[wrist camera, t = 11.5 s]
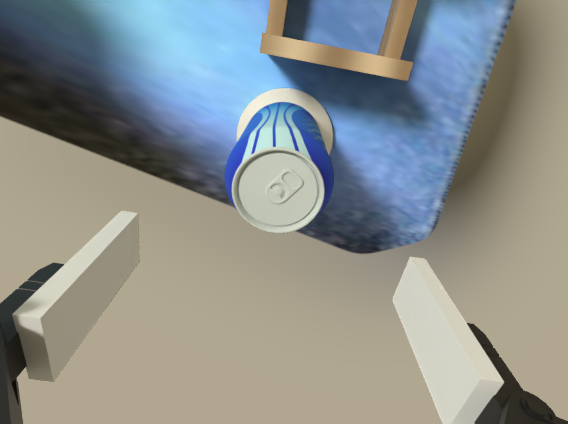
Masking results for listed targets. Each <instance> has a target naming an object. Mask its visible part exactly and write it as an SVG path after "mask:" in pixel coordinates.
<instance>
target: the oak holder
mask: <svg viewBox="0 0 568 424" xmlns="http://www.w3.org/2000/svg"><path fill="white" fill-rule="evenodd" d="M417 1H418V0H392V4H391V8H390V12H389V15H388V19H387V23H386V26H385V30H384V34H383V37H382V41H381V45H380V48H379V52H378V55H373V54H368V53H363V52H358V51H353V50H348V49H342V48H337V47H332V46H327V45H322V44H317V43H312V42H307V41H301V40H296V39H291V38H286V37H283V31H284V25H285V18H286V12H287V5H288V0H270V7H269V14H268V22H267V30H266V33H262V40H261V48H260V53H264V54H269V55H275V56H280V57H285V58H290V59H295V60H301V61H306V62H311V63H316V64H321V65H327V66H332V67H337V68H342V69H347V70H353V71H358V72H363V73H368V74H374V75H379V76H384V77H389V78H394V79H400V80H405V81H408V78H409V74H410V71H411V68H412V65H413V62H409V61H404V60H400V58H401V54H402V51H403V48H404V44H405V41H406V38H407V34H408V31H409V28H410V24H411V21H412V18H413V14H414V11H415V8H416V4H417Z"/></svg>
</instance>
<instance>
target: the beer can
mask: <svg viewBox="0 0 568 424" xmlns="http://www.w3.org/2000/svg"><path fill="white" fill-rule="evenodd" d="M333 183H334V173H333V167H332V163H331V160H330V157H329V155H328V152H327V149H326V146H325V143H324V140H323V138H322V135H321V132H320V129H319V126H318V124H317V122H316V120H315V119H314V117H313V116H312V115H311V114H310V113H309V112H308V111H307V110H306V109H304V108H303V107H301V106H299V105H296V104H294V103H289V102H276V103H272V104H269V105H267V106H265V107H263V108H261V109H260V110H259V111H257V112H256V113H255V114H254V116H253V117H252V118H251V120H250V121H249V123H248V125H247V127H246V128H245V130H244V132H243V133H242V135H241V137H240V138H239V140H238V142H237V143H236V145H235V147H234V149H233V150H232V152H231V154H230V156H229V158H228V161H227V164H226V169H225V186H226V190H227V193H228V196H229V198H230V200H231V202H232V204H233V205H234V207H235V208H236V209H237V210H238V212H239V213H240V215H241V216H242V217H243V218H244V219H245V220H246V221H247V222H248V223H249V224H251V225H252V226H254V227H255V228H257V229H260V230H262V231H265V232H270V233H288V232H292V231H296V230H298V229H300V228H302V227H304V226H305V225H307V224H308V223H310V222H311V221H312V220H313V219H314V218H315V217H316V216H317V215H318V214H319V213H320V212H321V211H322V210H323V208H324V207H325V206H326V204H327V202H328V201H329V198H330V196H331V193H332V189H333Z"/></svg>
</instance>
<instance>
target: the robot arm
mask: <svg viewBox="0 0 568 424" xmlns="http://www.w3.org/2000/svg"><path fill="white" fill-rule="evenodd" d="M138 263H139V224H138V213H134V212H128V211H120V212H119V213H118V214H117V215H116V216H115V217H114V218H113V219H112V220H111V221H110V222H109V223H108V224H107V225H106V226H105V227H104V228H103V229H101V230H100V231H99V232H98V233H97V234H96V235H95V236H94V237H93V238H92V239H91V240H90V241H89V242H88V243H87V244H86V245H85V246H84V247H83V248H81V249H80V251H78V252H77V253H76V254H75V255H74V256H73V257H72V258H71V259H70V260H69V261H68V262H67V263H66V264H59V263H52V264H50V265H48V266H46V267H44V268H42V269H40V270H38V271H37V272H36V273H35V274H34V275H32V276H31V277H30V278H29V279H28V281H27V282H24V283H23V284H22V285H21V286H20V287H19V289H16V290H15V291H14V292H13V293H12V294H11V295H9V297H7V298H6V299H5V300H4V301H3V302H1V304H0V424H23V420H22V412H21V404H20V396H19V388H18V382H17V376H18V375H19V374H20V373H21V372H22V371H23V369H24V368H25V367H26V369H27V373H28V377H29V379H35V380H43V381H51V382H54V381H55V379H56V378H57V377H58V375H59V373H60V372H61V371H62V370H63V368H64V367H65V365H66V364H67V363H68V361H69V360H70V358H71V357H72V356H73V354H74V353H75V351H76V350H77V349H78V347H79V346H80V344H81V343H82V342H83V340H84V339H85V337H86V336H87V334H88V333H89V332H90V330H91V329H92V327H93V326H94V325H95V323H96V322H97V320H98V319H99V318H100V316H101V315H102V313H103V312H104V311H105V309H106V308H107V306H108V305H109V304H110V302H111V301H112V299H113V298H114V297H115V295H116V294H117V292H118V291H119V290H120V288H121V287H122V285H123V284H124V283H125V281H126V280H127V278H128V277H129V276H130V274H131V273H132V271H133V270H134V268H135V267H136V266H137V264H138ZM392 300H393V303H394V305H395V308H396V310H397V313H398V315H399V317H400V320H401V322H402V325H403V327H404V330H405V332H406V335H407V337H408V340H409V342H410V344H411V347H412V350H413V352H414V354H415V357H416V359H417V362H418V364H419V367H420V369H421V372H422V374H423V377H424V379H425V381H426V384H427V386H428V389H429V391H430V394H431V396H432V398H433V401H434V404H435V406H436V408H437V411H438V414H439V416H440V419H441V421H442V423H443V424H568V421H566V420H563V419H560V418H558V417H556V416H555V414H554V412H553V411H552V409H551V408H549V406H548V405H547V404H546V403H545V402H543V401H542V400H541V399H539V398H538V397H537V396H535V395H533V394H531V393H529V392H527V391H523V389H522V388H521V387H520V385H519V383H518V382H517V381H516V379H515V378H514V376H513V375H512V373H511V372H510V371H509V369H508V367H507V366H506V364H505V363H504V361H503V360H502V359H501V357H499V354H498V353H497V351H496V350H495V348H493V345H492V344H491V342H490V341H489V339H488V338H487V337H486V335H485V334H484V333H483V332H482V331H480V329H478V328H477V327H476V326H475V325H474V324H469V323H466V322H465V320H464V319H463V317H462V316H461V314H460V312H459V311H458V309H457V308H456V306H455V305H454V303H453V302H452V300H451V298H450V297H449V295H448V294H447V293H446V291H445V289H444V287H443V286H442V284H441V283H440V281H439V280H438V278H437V277H436V275H435V273H434V272H433V271H432V269H431V267H430V266H429V264H428V263H427V261H426V260H425V259H422V258H416V257H410V258H409V260H408V263H407V265H406V268H405V270H404V272H403V275H402V277H401V280H400V282H399V285H398V287H397V289H396V292H395V294H394V297H393V299H392Z"/></svg>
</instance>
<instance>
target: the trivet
mask: <svg viewBox="0 0 568 424" xmlns="http://www.w3.org/2000/svg"><path fill="white" fill-rule="evenodd" d="M276 102H289V103H294V104H296V105H299V106H301V107H303V108H304V109H306V110H307V111H308V112H309V113H310V114H311V115H312V116H313V117H314V119H315V120H316V122H317V124H318V126H319V129H320V132H321V135H322V138H323V140H324V143H325V146H326V149H327V152H328V155H329V154H330V152H331V148H332V143H333V130H332V125H331V121H330V119H329V116H328V114H327V113H326V111H325V109H324V108H323V106H322V105H321V104H320V103H319V102H318V101H317V100H316V99H315V98H313V97H312V96H311V95H309V94H307V93H305V92H303V91H300V90H297V89H293V88H277V89H272V90H269V91H267V92H264V93H262V94H261V95H259V96H258V97H256V98H255V99H254V100H253V101H251V103H250V104H249V105H248V106H247V107H246V109H245V110H244V112H243V113H242V116H241V118H240V120H239V124H238V128H237V142H238V140H239V138H240V137H241V135H242V133H243V132H244V130H245V128H246V127H247V125H248V123H249V121H250V120H251V118H252V117H253V116H254V114H255V113H256V112H257V111H259V110H260V109H261V108H263V107H265V106H267V105H269V104H272V103H276Z"/></svg>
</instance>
